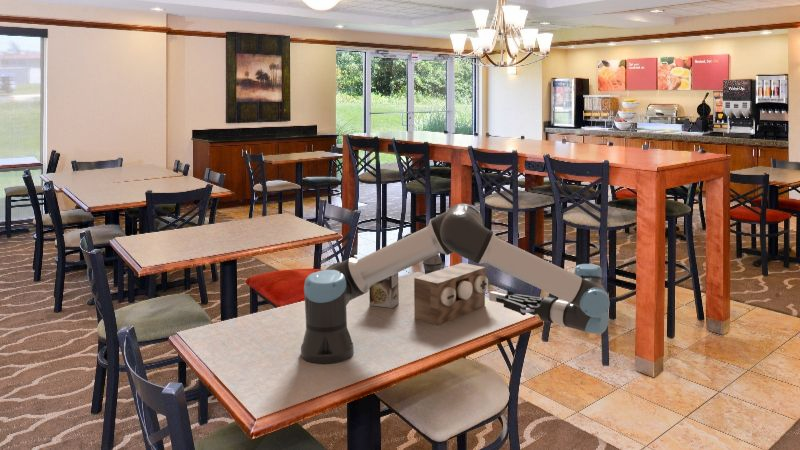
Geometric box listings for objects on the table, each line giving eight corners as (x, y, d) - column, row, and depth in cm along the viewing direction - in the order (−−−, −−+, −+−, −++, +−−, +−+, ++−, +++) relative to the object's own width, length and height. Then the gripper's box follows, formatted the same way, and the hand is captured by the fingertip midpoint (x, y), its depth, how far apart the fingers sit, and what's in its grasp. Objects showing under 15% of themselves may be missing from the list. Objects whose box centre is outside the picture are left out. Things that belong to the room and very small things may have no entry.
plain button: (461, 301, 213) (461, 283, 212) (456, 300, 214) (456, 282, 213) (472, 297, 217) (472, 280, 216) (467, 296, 219) (467, 278, 217)
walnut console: (443, 326, 207) (443, 284, 204) (414, 318, 215) (414, 277, 212) (490, 307, 225) (491, 268, 223) (462, 300, 234) (462, 262, 231)
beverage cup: (419, 293, 242) (419, 241, 238) (427, 288, 248) (427, 237, 244) (437, 296, 238) (437, 243, 234) (445, 291, 244) (445, 239, 241)
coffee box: (399, 303, 231) (398, 259, 228) (392, 308, 225) (391, 263, 222) (376, 300, 235) (375, 257, 231) (368, 305, 229) (367, 261, 226)
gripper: (544, 329, 188) (478, 311, 204) (566, 317, 198) (501, 302, 214) (544, 304, 187) (478, 289, 203) (567, 294, 196) (502, 280, 212)
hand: (490, 295), depth 208 cm, fingers closed
